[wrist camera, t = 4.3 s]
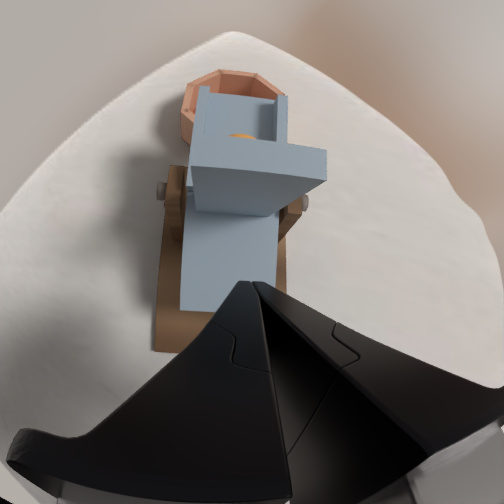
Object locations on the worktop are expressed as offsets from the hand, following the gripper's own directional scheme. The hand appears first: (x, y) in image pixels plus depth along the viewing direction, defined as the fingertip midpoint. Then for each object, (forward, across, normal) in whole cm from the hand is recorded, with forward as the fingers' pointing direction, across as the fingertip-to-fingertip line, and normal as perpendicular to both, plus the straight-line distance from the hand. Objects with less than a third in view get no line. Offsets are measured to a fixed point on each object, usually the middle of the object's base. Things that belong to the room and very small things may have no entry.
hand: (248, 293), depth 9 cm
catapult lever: (+11, 0, -1) cm, 11 cm away
